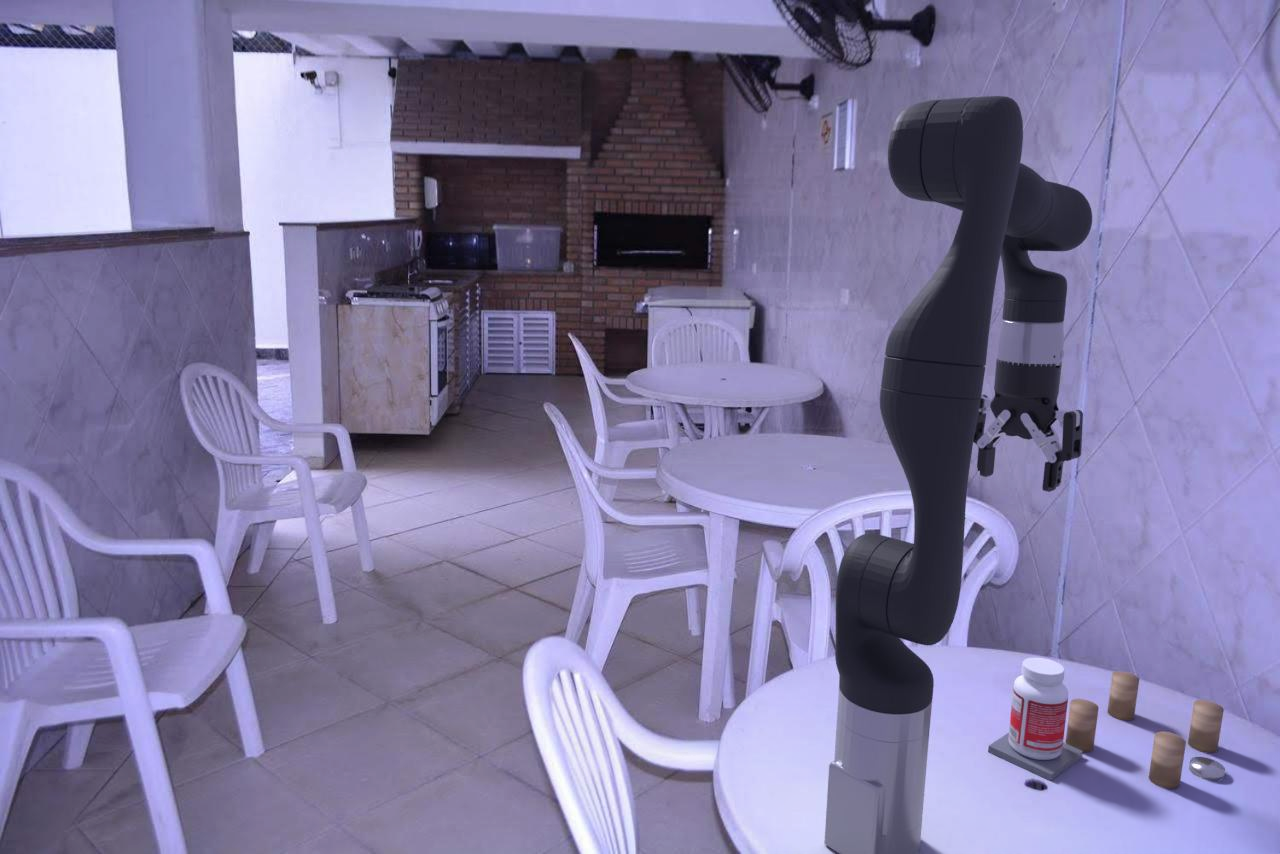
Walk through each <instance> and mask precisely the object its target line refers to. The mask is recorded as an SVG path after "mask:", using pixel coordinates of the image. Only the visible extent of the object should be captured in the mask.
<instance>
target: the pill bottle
mask: <svg viewBox="0 0 1280 854" xmlns="http://www.w3.org/2000/svg"><path fill="white" fill-rule="evenodd" d="M1064 678H1065V668H1064V666H1063V665H1062V664H1061V663H1059V662H1057V661H1055V660H1052V659H1048V658H1044V657H1027V658H1025V659H1024V660H1023V661H1022V665H1021V675H1019V676H1017V678H1015V680H1014V683H1013V689H1012V699H1011V709H1010V719H1009V728H1008V729H1009V730H1008V733H1009V744H1010V745H1011V747H1012V748H1013V749H1014V750H1015V751H1017V752H1018V753H1020V754H1022V755H1024V756H1027V757H1029V758H1033V759H1037V760H1050V759H1054V758H1057V757H1058V756H1059V755H1060V754H1061V752H1062V748H1063V743H1064V738H1065V731H1066V730H1065V729H1066V721H1067V720H1066V719H1067V713H1068V710H1067V709H1068V705H1069V704H1068V702H1069V690H1068V688H1067V687H1066V685H1065V684H1064V683H1063V682H1064V680H1065V679H1064Z"/></svg>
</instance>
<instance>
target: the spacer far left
mask: <svg viewBox="0 0 1280 854" xmlns="http://www.w3.org/2000/svg"><path fill="white" fill-rule="evenodd" d="M1223 717H1224V708H1223V706H1221V705H1220V704H1218V703H1216V702H1214V701H1211V700H1206V699H1205V700H1204V699H1197V700H1195V701H1194V702H1193V706H1192V713H1191V720H1190V726H1189V733H1188V740H1187V744H1188V745H1189V747H1191V748H1192V749H1193V750H1195V749H1196V750H1195V751H1198V752H1201V753H1205V752H1207V753H1206V754H1214V752H1215V753H1217V752H1218V748H1219V742H1220V737H1221V730H1222V729H1221V728H1222V723H1223ZM1216 751H1217V752H1216Z"/></svg>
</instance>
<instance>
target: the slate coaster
mask: <svg viewBox="0 0 1280 854" xmlns="http://www.w3.org/2000/svg"><path fill="white" fill-rule="evenodd" d="M987 752H988V753H990V754H992V755H995V756H997V757H999V758H1001V759H1003V760H1006V761H1008V762H1009V763H1012V764H1014V765H1016V766H1017V767H1021V768H1022V769H1025V770H1026V771H1029V772H1031V773H1033V774H1035V775H1038V776H1039V777H1042V778H1044V779H1046V780H1048V781H1053V780H1054V779H1055V778H1057V777H1058V776H1059V775H1061V774H1062V773H1063V772H1064V771H1066V770H1068V768H1070V767H1071V766H1072V765H1074V764H1075V763H1076V762H1078V761H1079V760H1080V759H1081V758H1083V755H1084V752H1083V751H1082V750H1079V749H1077V748H1075V747H1072V746H1070V745H1068V744H1066V742H1063V748H1062V752H1061V754H1060V755H1059V756H1058V757H1057V758H1054V759H1050V760H1037V759H1033V758H1029V757H1027V756H1024V755H1022V754H1020V753H1018V752H1017V751H1015V750H1014V749H1013V748H1012V747H1011V745H1010V744H1009V732H1007V733H1006V734H1005V735H1003V736H1001V737H1000V738H998V739H996V740H995V741H993V742H992V743H990V744H989V745H988V750H987Z"/></svg>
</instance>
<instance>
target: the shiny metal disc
mask: <svg viewBox="0 0 1280 854" xmlns="http://www.w3.org/2000/svg"><path fill="white" fill-rule="evenodd" d="M1188 770H1189V771H1190V773H1192V774H1193V775H1194V776H1196V777H1198V778H1200V777H1201V779H1203V780H1206V779H1207V780H1206V781H1211V780H1212V782H1219V780H1220V781H1222V780H1224V778H1225V772H1226V768H1225V767H1224V765H1223V764H1221V763H1220V762H1218V761H1217V760H1215V759H1212V758H1209V757H1204V756H1194V757H1191V758H1190V761H1189V765H1188ZM1221 779H1222V780H1221Z"/></svg>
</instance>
